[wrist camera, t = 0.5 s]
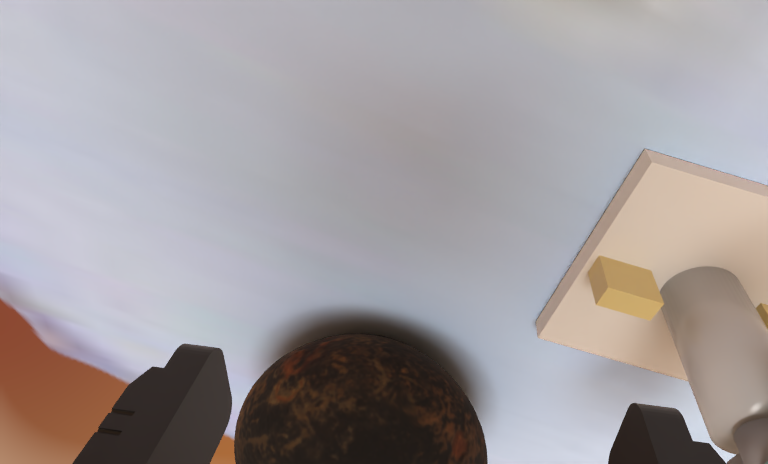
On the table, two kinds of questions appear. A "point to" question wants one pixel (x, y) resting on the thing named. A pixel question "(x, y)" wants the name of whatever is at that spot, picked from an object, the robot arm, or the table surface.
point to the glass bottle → (357, 408)
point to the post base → (665, 243)
